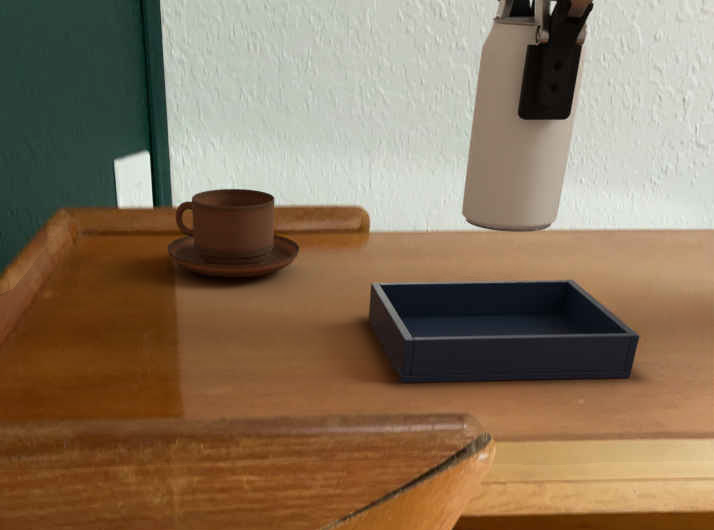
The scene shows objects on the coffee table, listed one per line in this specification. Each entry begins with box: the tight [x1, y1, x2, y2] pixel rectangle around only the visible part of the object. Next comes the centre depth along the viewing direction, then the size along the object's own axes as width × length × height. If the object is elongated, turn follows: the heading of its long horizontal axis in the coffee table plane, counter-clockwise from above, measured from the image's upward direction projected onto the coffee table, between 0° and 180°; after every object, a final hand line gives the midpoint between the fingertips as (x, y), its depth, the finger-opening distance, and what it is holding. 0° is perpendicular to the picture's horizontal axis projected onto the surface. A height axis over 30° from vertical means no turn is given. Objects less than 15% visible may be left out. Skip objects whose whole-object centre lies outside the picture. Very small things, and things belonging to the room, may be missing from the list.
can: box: [461, 17, 587, 233], centre depth 63 cm, size 6×6×12 cm
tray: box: [368, 279, 640, 384], centre depth 71 cm, size 16×13×3 cm
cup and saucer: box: [167, 188, 300, 278], centre depth 87 cm, size 12×12×6 cm
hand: (525, 107), depth 62 cm, fingers closed on can, 6 cm apart
